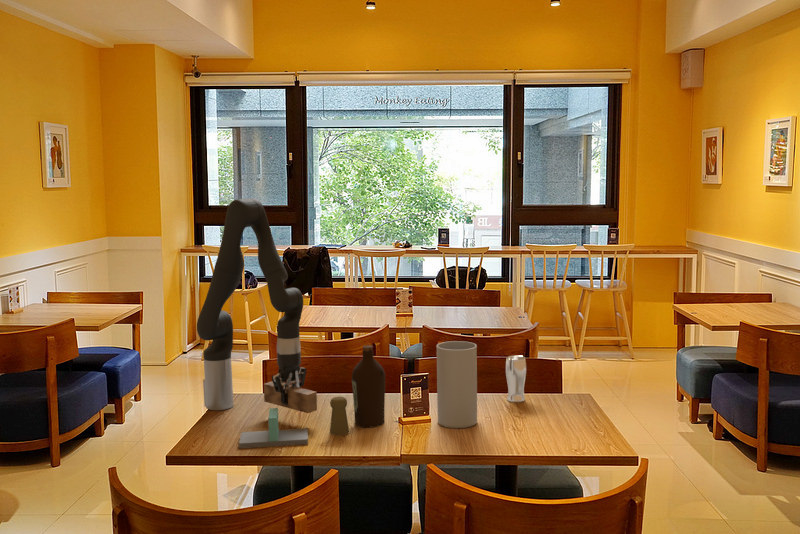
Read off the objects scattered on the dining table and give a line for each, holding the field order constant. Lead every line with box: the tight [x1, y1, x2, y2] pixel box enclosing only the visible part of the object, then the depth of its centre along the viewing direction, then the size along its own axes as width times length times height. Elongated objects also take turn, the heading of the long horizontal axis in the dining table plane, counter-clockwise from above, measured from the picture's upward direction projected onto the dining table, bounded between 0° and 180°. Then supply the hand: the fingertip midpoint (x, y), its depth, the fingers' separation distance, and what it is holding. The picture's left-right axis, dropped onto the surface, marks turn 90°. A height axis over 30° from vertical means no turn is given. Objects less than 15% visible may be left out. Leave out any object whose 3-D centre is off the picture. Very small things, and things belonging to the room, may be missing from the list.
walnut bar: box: [263, 380, 318, 414], centre depth 255 cm, size 20×4×6 cm, turn 52°
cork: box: [329, 396, 350, 436], centre depth 243 cm, size 6×6×11 cm
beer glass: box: [505, 355, 527, 403], centre depth 273 cm, size 7×7×15 cm
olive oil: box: [351, 344, 386, 428], centre depth 251 cm, size 11×11×25 cm
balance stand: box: [238, 407, 309, 449], centre depth 237 cm, size 20×10×8 cm, turn 97°
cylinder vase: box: [436, 340, 478, 429], centre depth 249 cm, size 12×12×25 cm
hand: (290, 402), depth 255 cm, fingers closed on walnut bar, 4 cm apart
